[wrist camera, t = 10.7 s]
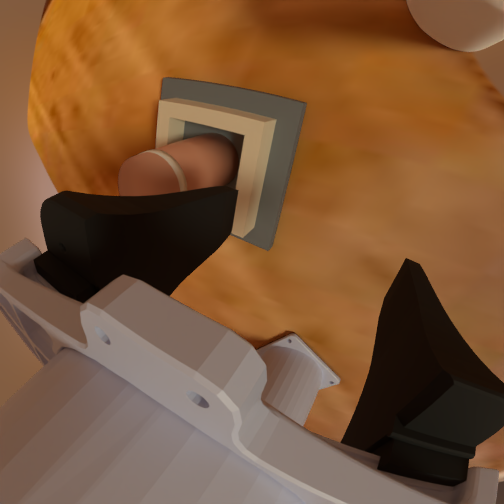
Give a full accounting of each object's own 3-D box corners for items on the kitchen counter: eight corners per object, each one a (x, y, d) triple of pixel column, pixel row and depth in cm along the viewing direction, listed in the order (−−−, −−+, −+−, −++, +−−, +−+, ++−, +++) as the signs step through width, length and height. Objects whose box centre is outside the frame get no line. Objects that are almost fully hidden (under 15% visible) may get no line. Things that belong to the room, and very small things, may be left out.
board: (272, 246, 26) (258, 263, 24) (160, 200, 29) (141, 211, 27) (306, 102, 19) (293, 104, 17) (169, 77, 22) (146, 79, 20)
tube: (218, 197, 25) (152, 240, 18) (182, 160, 24) (109, 191, 18) (250, 160, 22) (183, 193, 16) (209, 120, 22) (133, 139, 15)
